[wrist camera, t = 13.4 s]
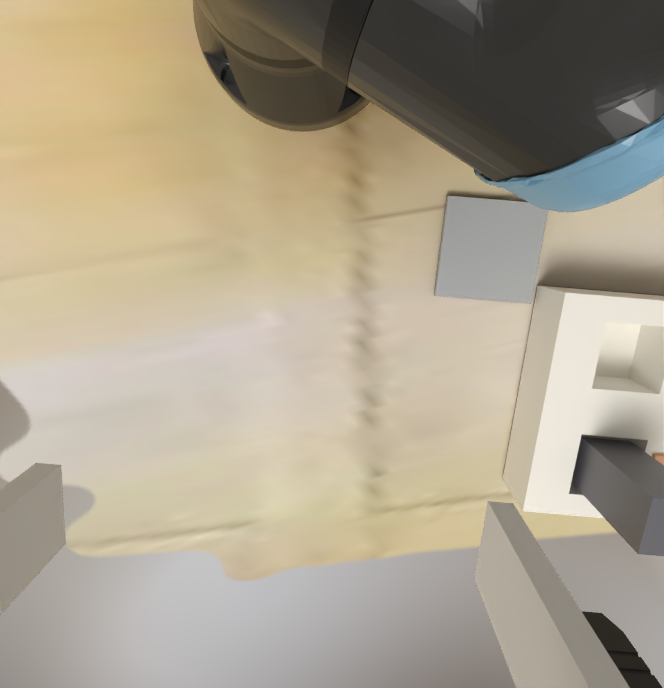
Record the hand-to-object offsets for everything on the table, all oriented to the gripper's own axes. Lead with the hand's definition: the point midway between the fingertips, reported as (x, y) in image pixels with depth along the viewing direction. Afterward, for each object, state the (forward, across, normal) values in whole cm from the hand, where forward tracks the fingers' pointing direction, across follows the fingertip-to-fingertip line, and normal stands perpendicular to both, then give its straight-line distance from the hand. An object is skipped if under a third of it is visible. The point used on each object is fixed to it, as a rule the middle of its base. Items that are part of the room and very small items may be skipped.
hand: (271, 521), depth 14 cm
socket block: (+27, +24, -3) cm, 36 cm away
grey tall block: (+26, +24, -8) cm, 36 cm away
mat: (+27, +14, +8) cm, 31 cm away
